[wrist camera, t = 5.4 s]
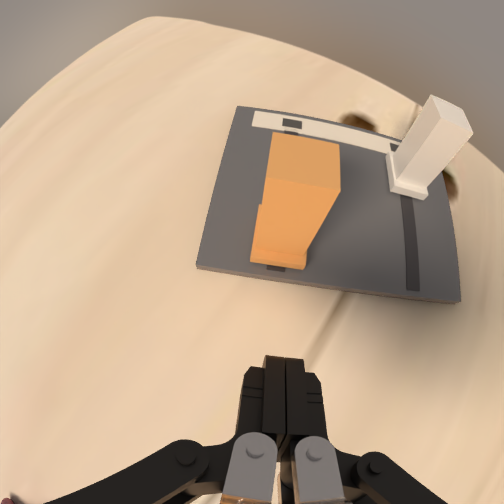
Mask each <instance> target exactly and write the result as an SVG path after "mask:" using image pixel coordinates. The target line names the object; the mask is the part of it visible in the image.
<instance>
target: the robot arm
mask: <svg viewBox="0 0 504 504" xmlns="http://www.w3.org/2000/svg"><path fill="white" fill-rule="evenodd" d="M276 462H281V464H280V473H279V474H278V477H277V486H278V503H279V504H448V503H446V502H445V501H443V500H442V499H441V498H439V497H438V496H437V495H435V494H434V493H433V492H431V491H430V490H429V489H427V488H426V487H425V486H424V485H422V484H421V483H420V482H418V481H417V480H416V479H415V478H413V477H412V476H411V475H410V474H408V473H407V472H406V471H405V470H403V469H402V468H401V467H400V466H398V465H397V464H396V463H395V462H394V461H392V460H391V459H390V458H389V457H387V456H386V455H385V454H383V453H380V452H369V453H366V454H364V455H363V456H362V457H360V456H356V455H352V454H348V453H344V452H341V451H339V450H337V449H336V448H335V447H334V446H333V445H332V444H331V443H330V441H329V439H328V436H327V429H326V421H325V412H324V404H323V397H322V389H321V383H320V381H319V380H318V378H317V376H316V375H315V373H308V372H305V368H304V360H303V359H296V358H286V357H285V358H284V357H277V356H269V355H265V358H264V362H263V366H262V368H260V367H253V366H251V367H250V368H249V369H248V371H247V372H246V373H245V375H244V379H243V384H242V389H241V395H240V401H239V409H238V416H237V424H236V431H235V435H234V437H233V438H232V439H231V440H229V441H228V442H226V443H223V444H220V445H214V446H204V447H203V446H202V445H201V444H199V443H197V442H195V441H192V440H177V441H174V442H172V443H170V444H169V445H167V446H165V447H164V448H162V449H160V450H159V451H157V452H155V453H153V454H151V455H150V456H148V457H146V458H144V459H142V460H141V461H139V462H137V463H135V464H133V465H131V466H129V467H127V468H125V469H123V470H121V471H119V472H117V473H115V474H113V475H111V476H109V477H107V478H105V479H103V480H101V481H99V482H96V483H94V484H92V485H90V486H87V487H85V488H83V489H80V490H78V491H76V492H73V493H71V494H68V495H66V496H63V497H61V498H58V499H55V500H53V501H50V502H47V503H44V504H190V503H191V502H193V501H194V500H196V499H197V498H199V497H200V496H202V495H207V494H216V493H222V497H221V501H220V504H271V499H272V492H273V484H274V477H275V469H276Z"/></svg>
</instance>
